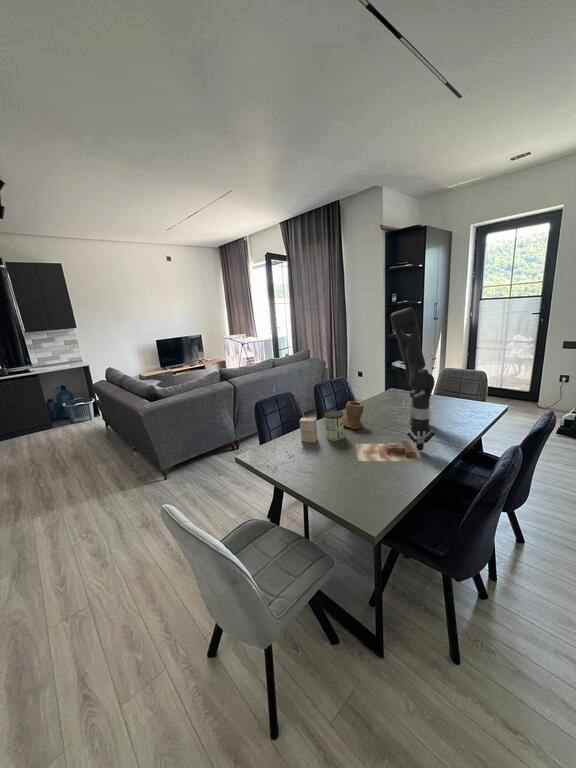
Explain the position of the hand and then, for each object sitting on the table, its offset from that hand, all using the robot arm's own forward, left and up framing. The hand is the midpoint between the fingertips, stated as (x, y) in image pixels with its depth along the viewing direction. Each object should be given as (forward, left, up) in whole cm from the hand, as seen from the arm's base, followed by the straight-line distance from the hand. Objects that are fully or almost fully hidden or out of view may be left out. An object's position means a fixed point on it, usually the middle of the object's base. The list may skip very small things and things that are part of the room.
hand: (419, 449), depth 147 cm
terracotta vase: (+30, -36, -2) cm, 47 cm away
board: (+15, 0, -2) cm, 16 cm away
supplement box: (+54, -15, -2) cm, 57 cm away
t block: (+9, 0, -1) cm, 10 cm away
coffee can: (+40, -20, -2) cm, 45 cm away
